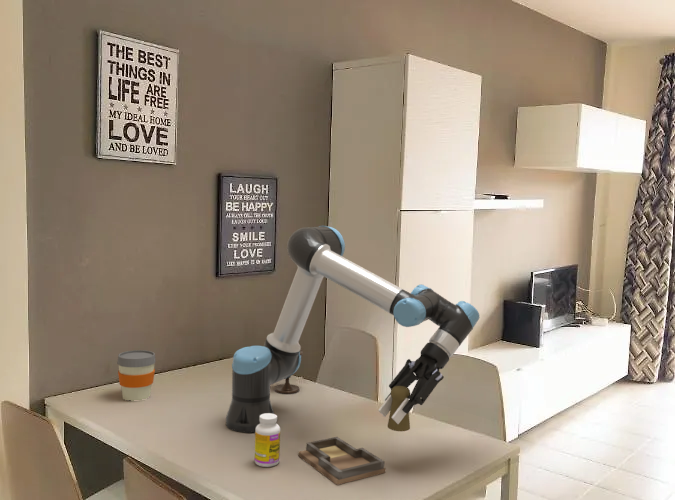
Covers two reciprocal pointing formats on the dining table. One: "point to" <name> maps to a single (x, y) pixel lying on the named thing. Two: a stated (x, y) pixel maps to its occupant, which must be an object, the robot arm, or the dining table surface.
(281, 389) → the candlestick
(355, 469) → the keyhole board
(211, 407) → the dining table surface
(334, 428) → the dining table surface
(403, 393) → the olive tall rounded piece
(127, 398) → the reusable coffee cup
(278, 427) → the supplement bottle
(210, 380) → the dining table surface
